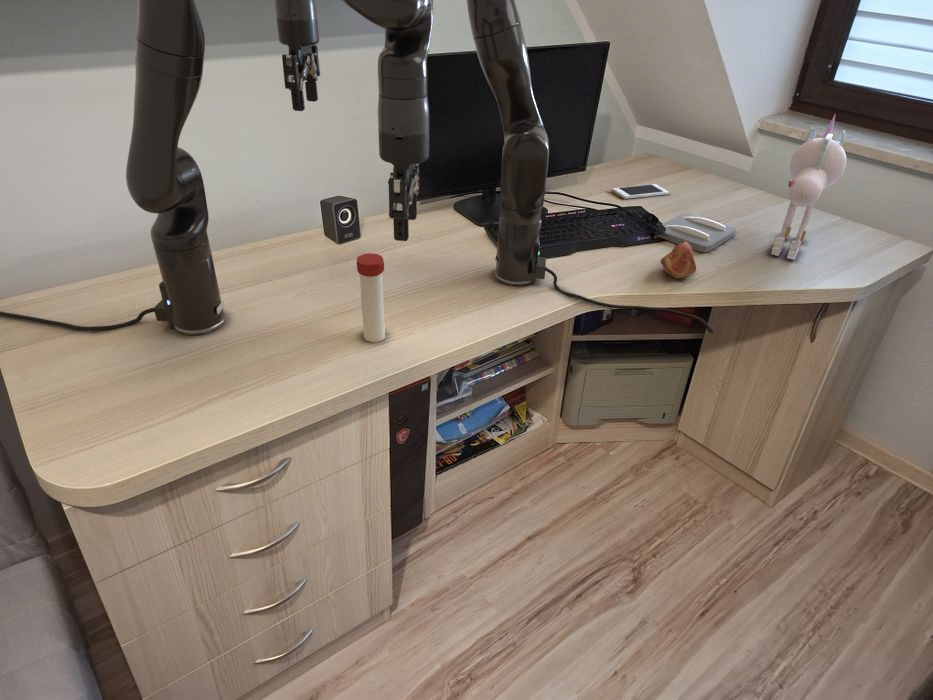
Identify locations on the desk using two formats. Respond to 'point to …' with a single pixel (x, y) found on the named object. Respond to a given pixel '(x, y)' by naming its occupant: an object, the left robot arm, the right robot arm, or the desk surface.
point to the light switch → (697, 232)
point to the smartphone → (640, 191)
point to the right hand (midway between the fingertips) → (306, 105)
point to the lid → (370, 264)
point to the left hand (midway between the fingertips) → (405, 229)
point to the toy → (811, 180)
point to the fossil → (680, 261)
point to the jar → (372, 307)
